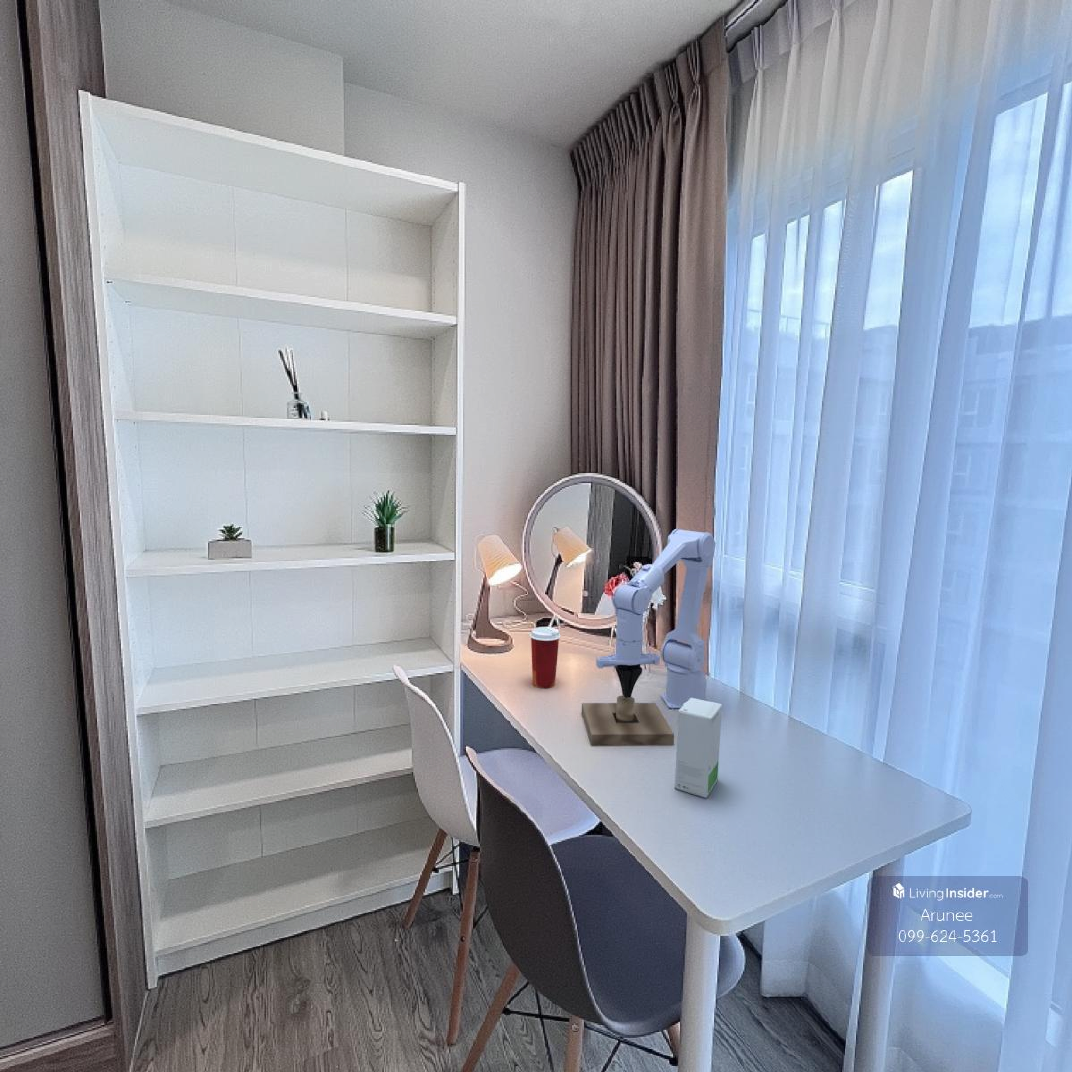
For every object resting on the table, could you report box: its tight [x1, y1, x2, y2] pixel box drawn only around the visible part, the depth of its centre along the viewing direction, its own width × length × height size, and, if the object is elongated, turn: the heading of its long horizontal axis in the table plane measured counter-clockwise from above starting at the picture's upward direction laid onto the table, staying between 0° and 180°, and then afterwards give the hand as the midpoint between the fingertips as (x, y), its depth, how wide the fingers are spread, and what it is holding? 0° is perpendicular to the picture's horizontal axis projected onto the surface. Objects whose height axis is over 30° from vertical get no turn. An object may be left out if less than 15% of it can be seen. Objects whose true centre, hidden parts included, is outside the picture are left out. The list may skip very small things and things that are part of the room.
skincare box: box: [674, 698, 723, 799], centre depth 113 cm, size 8×7×16 cm
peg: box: [616, 695, 636, 723], centre depth 136 cm, size 4×4×7 cm
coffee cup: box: [529, 626, 561, 689], centre depth 160 cm, size 8×8×15 cm
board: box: [581, 702, 675, 747], centre depth 136 cm, size 18×16×2 cm
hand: (626, 695), depth 135 cm, fingers closed
